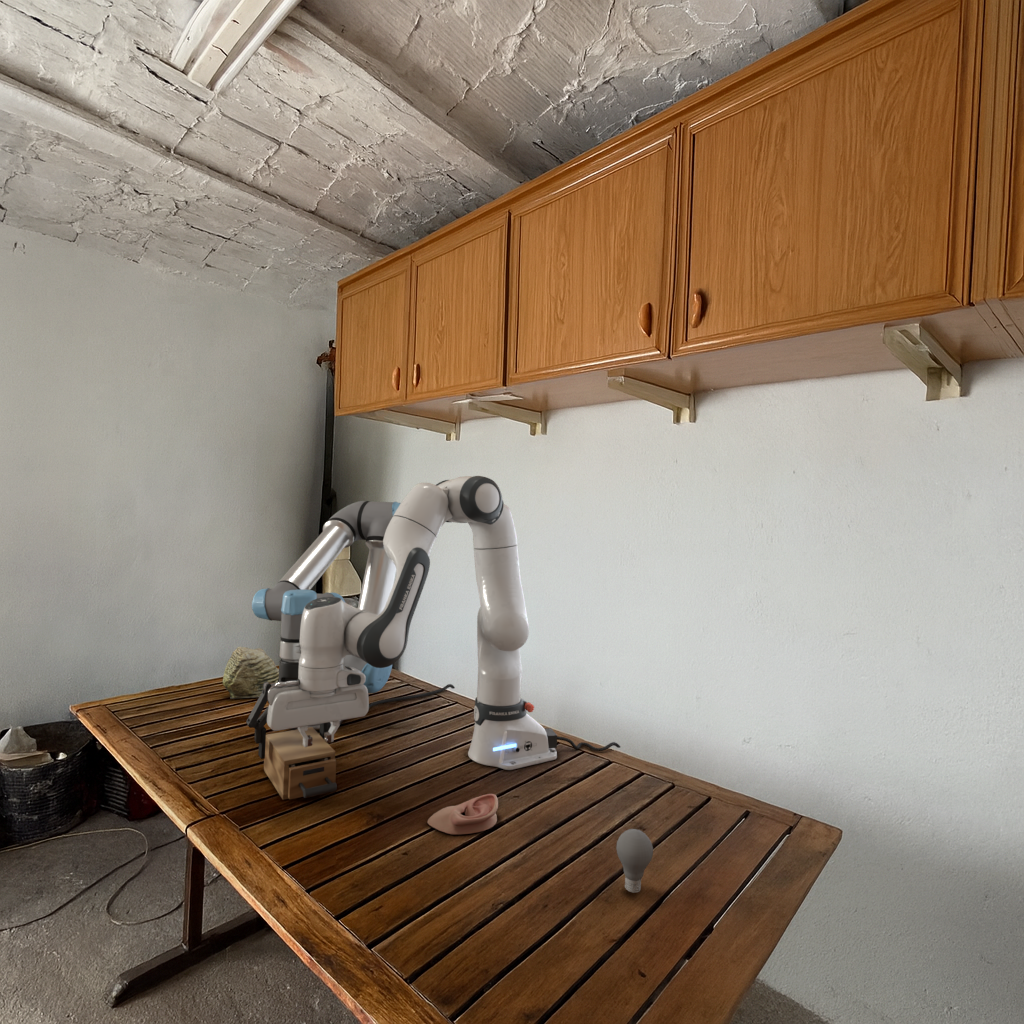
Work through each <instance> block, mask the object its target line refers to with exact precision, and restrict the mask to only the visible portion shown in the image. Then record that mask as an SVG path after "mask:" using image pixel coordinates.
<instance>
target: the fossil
mask: <svg viewBox="0 0 1024 1024" xmlns="http://www.w3.org/2000/svg"><path fill="white" fill-rule="evenodd" d="M222 676H223V677H222V685H223V687H224V688H225V690H226V691H228V693H229V698H230V699H250V698H259V697H260V695H261V693H262V690H263V684H264V682H266V681H268V682H269V683H277V682H278V679H279V667H277V665H276V663H275V662H274V660H273V659H272V658H271V657H270V656H269V655H268V654H267V653H266V652H265V650H264V649H263V648H260V647H258V648H251V647H247V646H246V647H245V646H238V647H237V648H236V649H235V650H233V651H232V653H231V656H230V657H229V659H228V660H227V663H226V666H225V668H224V671H223V675H222Z"/></svg>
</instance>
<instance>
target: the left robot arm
mask: <svg viewBox="0 0 1024 1024" xmlns="http://www.w3.org/2000/svg"><path fill="white" fill-rule="evenodd" d="M400 504H401V502H398V501H378V500H377V501H374V500H373V501H372V500H358V501H355V502H352V503H350V504H347V505H346V506H345V507H343V508H341V509H340V510H338V511H337V512H335V513H334V514H332V516H331V517H330V518H328V519H327V520H326V522H324V524H323V526H322V532H321V533H320V534H319V535H318V536H317V538H316V539H314V541H313V542H312V543H311V545H309V547H308V548H307V549H306V550H305V551H304V552H303V553H302V555H301V556H300V557H299V558H298V559H297V560H296V562H294V563H293V565H292V566H290V568H289V569H288V570H287V571H286V573H285V574H284V575H283V576H282V577H281V578H280V579H279V580H278V581H277V583H276V584H275V585H274V586H273V587H272V588H269V587H267V588H262V589H259V590H258V591H256V592H255V594H254V596H253V599H252V600H251V609H252V611H253V614H254V616H255V617H256V618H258V619H262V620H266V621H267V620H268V621H270V622H271V621H276V622H281V623H280V624H281V625H280V640H279V643H280V644H279V658H280V660H279V662H278V663H279V664H278V666H279V667H278V669H279V679H278V682H287V681H292V680H298V669H299V659H300V656H301V647H300V626H301V619H302V614H303V610H304V608H305V606H306V605H307V604H308V603H309V602H311V601H312V600H315V599H318V598H322V597H338V598H340V599H342V601H344V602H345V603H346V601H345V599H344V597H343V596H342V595H341V594H339V593H337V592H324V593H317V592H316V591H315V590H312V589H313V587H314V586H315V585H316V584H317V582H318V581H319V580H320V578H322V576H323V575H324V574H325V573H326V571H327V570H328V569H329V567H330V566H331V565H332V564H333V562H334V561H335V560H336V559H337V558H338V556H339V555H340V554H341V553H342V552H343V550H344V549H346V548H347V549H348V548H349V547H351V546H352V545H353V543H354V542H357V541H365V545H366V547H367V548H368V550H369V551H368V555H367V559H366V566H365V569H364V575H363V580H362V584H361V590H360V594H359V599H358V604H357V608H358V609H361V610H365V611H368V612H371V613H374V614H376V615H379V614H380V613H381V612H382V611H383V610H384V608H385V605H386V602H387V600H388V597H389V595H390V592H391V590H392V587H393V585H394V582H395V579H396V574H397V572H396V567H395V564H394V563H393V562H392V560H391V559H390V558H389V557H388V555H387V554H386V551H385V549H384V545H383V539H384V535H385V532H386V529H387V527H388V525H389V523H390V521H391V519H392V517H393V515H394V513H395V512H396V510H397V508H398V507H399V505H400ZM343 665H344V666H349V667H353V668H356V669H358V670H359V671H361V672H362V673H363V674H364V675H365V676H366V680H365V683H364V685H365V686H366V687H367V690H368V694H376V693H378V692H380V691H381V690H382V689H383V688H384V687H385V685H386V684H387V682H388V680H389V678H390V675H391V673H392V669H393V664H392V665H390V666H388V667H385V668H376V667H373V666H371V665H370V664H368V663H367V662H365V661H363V660H362V659H360V658H358V657H355V656H353V655H346V656H345V657H344V660H343ZM275 684H276V683H269V682H268V681H266V682H264V684H263V690H262V693H261V695H260V697H258V699H257V700H256V702H255V703H254V704H255V705H254V706H253V708H252V710H251V711H250V713H249V715H248V718H247V719H246V721H245V723H246V725H247V727H248V728H249V729H254V742H255V744H258V754H257V756H259V758H260V760H264V759H265V744H266V735H267V729H266V727H265V725H266V724H267V714H268V707H269V705H268V706H267V707H266V708H265V706H266V704H267V703H268V700H267V698H268V690H269V689H270V688H271V687H272V686H273V685H275ZM274 688H276V687H274ZM449 688H451V689H452V690H454V689H455V688H456V687H455V686H454V685H453V684H451V683H449V684H446V685H445V686H443V687H441V688H439V689H438V688H437V689H435V690H432V691H428V692H423V693H418V694H412V695H405V696H399V697H391V698H386V699H381V700H377V701H373V702H371V703H369V709H370V708H372V707H374V706H377V705H382V704H387V703H393V702H399V701H406V700H411V699H412V700H413V699H419V698H423V697H428V696H431V695H435V694H439V693H442V692H444V691H446V690H447V689H449ZM264 708H265V709H264ZM263 710H264V711H263ZM343 722H344V720H340V725H342V723H343ZM331 725H332V724H331V723H330V722H327V723H321V724H315V725H309V726H308V728H309V727H313V728H314V729H315V730H316V732H317V733H318V734H319V735H320V736H321V737H322V738H323V739H324V737H325V736H324V733H325V732H328V731H329V729H330V727H331ZM297 729H298V727H297V728H291V729H290V730H297Z"/></svg>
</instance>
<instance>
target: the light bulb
mask: <svg viewBox="0 0 1024 1024" xmlns="http://www.w3.org/2000/svg"><path fill="white" fill-rule="evenodd" d="M615 849H616V854H617V857H618V859H619V861H620V863H621V865H622V867H623V873H624V874H623V875H624V876H625V878H624V888H625V890H627V891H628V892H630V893H634V894H635V893H639V892H640V891H641V889H642V887H641V886H642V879H643V877H644V875H645V871H646V868H647V867H648V866H649V864H650V863H651V861H652V859H653V855H654V847H653V843H652V841H651V838H649V836H648V835H647V834H646V833H645V832H643V831H642V830H641V829H636V828H629V829H627V830H625V831H623V832H622V833H621V834H620V835H619V837H618V839H617V841H616V847H615Z"/></svg>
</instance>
